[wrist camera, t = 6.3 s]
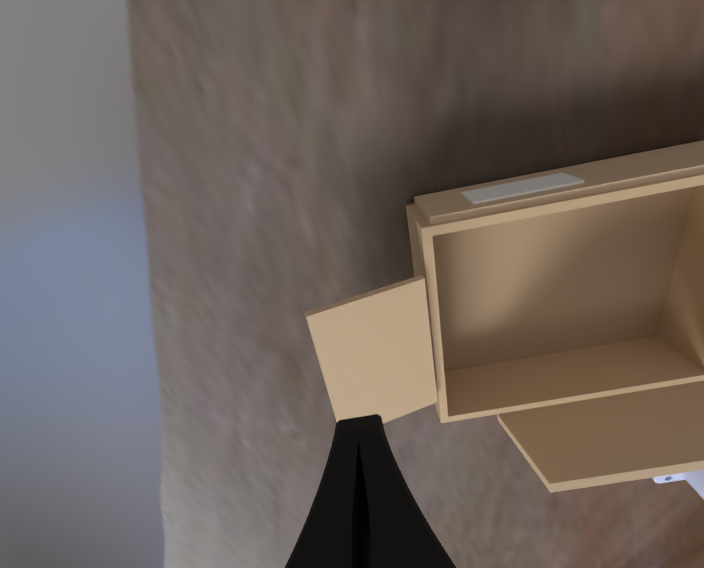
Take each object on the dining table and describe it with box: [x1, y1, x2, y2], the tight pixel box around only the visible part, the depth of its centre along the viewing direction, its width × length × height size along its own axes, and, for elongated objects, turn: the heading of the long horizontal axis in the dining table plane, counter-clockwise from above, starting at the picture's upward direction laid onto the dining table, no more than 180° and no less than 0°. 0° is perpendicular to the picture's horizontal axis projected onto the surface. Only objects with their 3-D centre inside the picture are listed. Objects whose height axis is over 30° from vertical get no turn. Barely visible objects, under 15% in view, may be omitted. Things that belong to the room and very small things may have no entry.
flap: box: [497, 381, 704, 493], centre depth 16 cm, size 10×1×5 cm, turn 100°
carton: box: [406, 140, 704, 423], centre depth 18 cm, size 14×11×4 cm
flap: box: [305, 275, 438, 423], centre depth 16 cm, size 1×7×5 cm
